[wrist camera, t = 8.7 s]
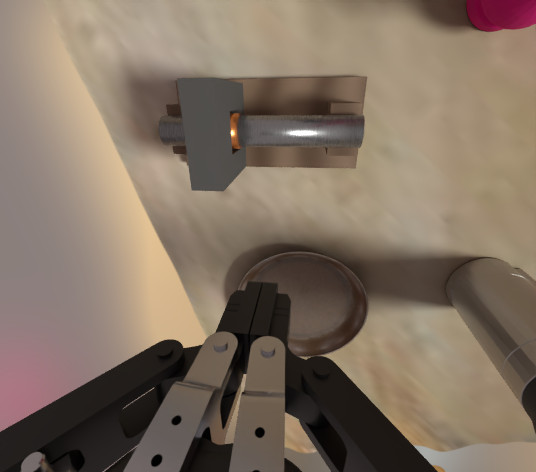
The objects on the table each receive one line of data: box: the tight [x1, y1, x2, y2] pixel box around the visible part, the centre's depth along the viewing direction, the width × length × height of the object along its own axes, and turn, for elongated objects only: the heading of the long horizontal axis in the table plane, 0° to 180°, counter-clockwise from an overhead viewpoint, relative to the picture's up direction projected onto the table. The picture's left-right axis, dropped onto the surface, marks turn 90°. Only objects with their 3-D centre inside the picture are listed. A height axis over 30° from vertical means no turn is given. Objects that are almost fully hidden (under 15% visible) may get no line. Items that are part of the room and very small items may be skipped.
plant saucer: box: [238, 251, 368, 357], centre depth 46 cm, size 21×21×3 cm
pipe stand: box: [166, 77, 367, 168], centre depth 33 cm, size 22×10×7 cm, turn 91°
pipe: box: [159, 113, 364, 149], centre depth 29 cm, size 20×3×3 cm, turn 91°
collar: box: [177, 78, 247, 191], centre depth 29 cm, size 3×9×10 cm, turn 1°
